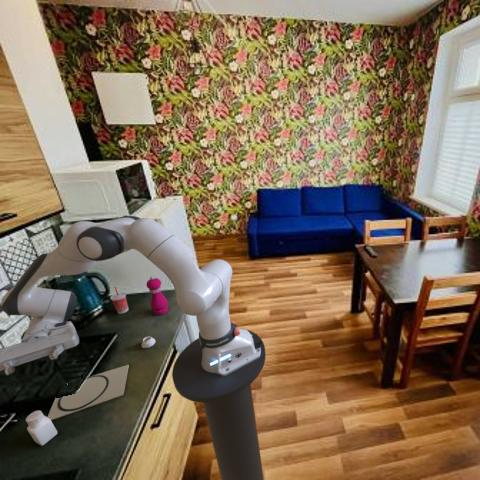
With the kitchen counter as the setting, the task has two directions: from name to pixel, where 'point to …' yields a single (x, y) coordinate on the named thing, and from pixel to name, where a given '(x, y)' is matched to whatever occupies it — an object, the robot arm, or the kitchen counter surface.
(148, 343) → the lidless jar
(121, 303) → the beverage cup
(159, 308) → the pepper mill
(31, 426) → the pepper shaker
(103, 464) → the kitchen counter surface
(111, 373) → the drawing sheet
